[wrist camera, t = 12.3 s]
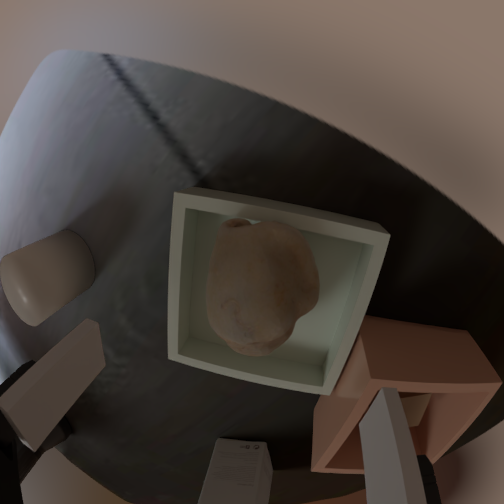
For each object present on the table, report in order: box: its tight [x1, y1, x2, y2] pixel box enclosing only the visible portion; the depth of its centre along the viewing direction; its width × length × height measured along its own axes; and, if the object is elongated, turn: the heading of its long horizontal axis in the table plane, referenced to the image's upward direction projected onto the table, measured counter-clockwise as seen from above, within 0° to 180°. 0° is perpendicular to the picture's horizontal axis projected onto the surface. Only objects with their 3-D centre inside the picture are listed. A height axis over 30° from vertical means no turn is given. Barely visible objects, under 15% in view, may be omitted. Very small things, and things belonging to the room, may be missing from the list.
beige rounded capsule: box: [0, 230, 95, 326], centre depth 20 cm, size 6×6×7 cm
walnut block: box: [369, 390, 432, 427], centre depth 18 cm, size 4×4×4 cm
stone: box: [206, 218, 320, 357], centre depth 16 cm, size 7×6×8 cm
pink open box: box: [311, 315, 503, 474], centre depth 18 cm, size 11×11×7 cm
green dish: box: [168, 187, 390, 396], centre depth 19 cm, size 12×12×3 cm
